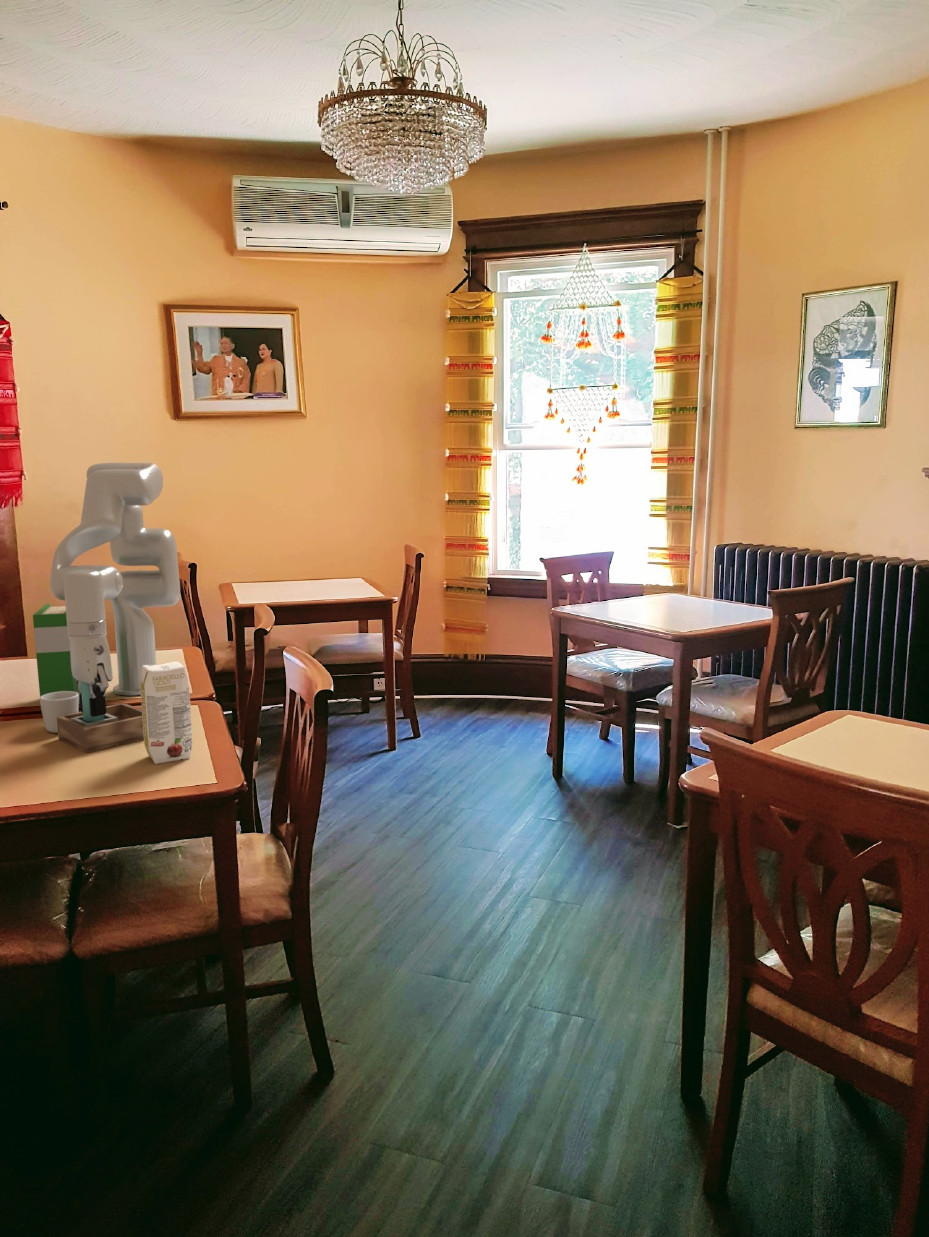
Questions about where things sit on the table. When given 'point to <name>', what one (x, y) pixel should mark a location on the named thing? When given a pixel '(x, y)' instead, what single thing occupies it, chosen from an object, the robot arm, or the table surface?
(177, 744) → the juice carton
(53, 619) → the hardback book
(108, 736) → the box
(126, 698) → the table surface
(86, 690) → the plug
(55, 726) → the cup
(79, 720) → the socket
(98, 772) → the table surface
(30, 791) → the table surface
